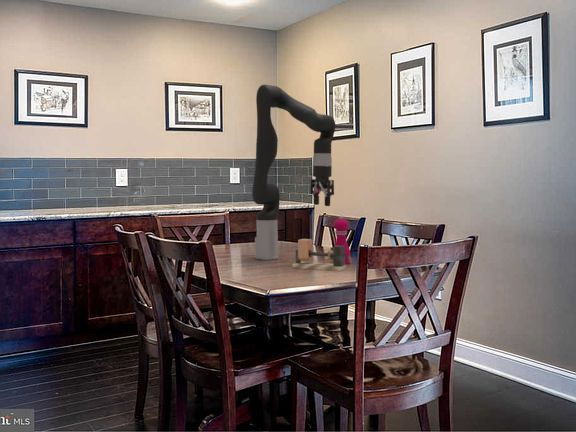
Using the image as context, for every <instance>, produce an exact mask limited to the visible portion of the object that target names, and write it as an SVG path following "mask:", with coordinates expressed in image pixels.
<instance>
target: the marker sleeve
mask: <svg viewBox="0 0 576 432" xmlns="http://www.w3.org/2000/svg"><path fill="white" fill-rule="evenodd" d="M297 249H298V260H301V261H309V260H312V259H313V256H310V255H309V252H313V239H312V238H300V239H298V240H297Z"/></svg>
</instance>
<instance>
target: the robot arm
mask: <svg viewBox="0 0 576 432" xmlns="http://www.w3.org/2000/svg"><path fill="white" fill-rule="evenodd" d="M255 96H256V102H255V103H256V120H257V121H256V142H255V145H256V146H255V166H254V167H255V168H254V176H253V177H254V178H253V183H252V191H251V193H252V194H251V197H252V199H253V202H254V203H255V204H256V205H260V206H261V205H262V206H263V207H262V209H261V210H260V211H259V212H258V213H257V214H256V216H255V217H256V236H255V237H254V252H255V253H254V255H255V256H254V258H255V259H256V260H266V261H270V260H276V259H279V251H278V249H279V247H278V246H279V245H278V243H279V242H278V241H279V240H278V238H279V237H278V236H279V234H278V232H279V230H278V229H279V228H278V215H279V213H280V199H281V198H280V190H279V188H278V187H279V186H277V184H275V183H272V182H271V183H268V178H269V171H270V169H271V168H272V165H273V163H274V161H275V159H276V157H277V154H278V145H279V143H278V142H279V141H278V135H277V131H276V130H275V127H274V125H273V121H272V118H271V116H272V115H271V112H272V111H271V109H273V108H275V109H277V108H278V109H281V110H283V111H286V112H288V113H289V114H290V116H291V117H293V119H295V120H296V121H298V122H300V123H302V124H304V125H305V126H306V127H307V128H309V129H310V130H312V131H314V132H316V133H320V135H319V137H318V138H316V139H315V140H314V141H313V157H312V177H314V178H311V180H310V191H309V192H310V194H312V195H313V205H315V206H318V205H319V204H320V193H321V192H322V193H323V194H324V207H330V206H331V197H332V196H334V195H335V180H334V179H330V177H332V173H333V172H332V171H333V170H332V168H333V166H332V165H333V159H332V143H333V142H332V141H333V139H334V134H335V131H336V121H335V118H334V117H333V116H332V115H329V114H321V113H318V112H317V111H316V109H314V108H313V107H311V106H310V105H307V104H305V103H303V102H301V101H299V100H297V99H296V98H294V97H292V96H291V95H289V94H288V93H287V92H286V91H285V90H283V89H282V88H281V87H280V86H278V85H277V86H276V85H270V84H261V85H260V86H259V87H258V89H257V91H256V95H255Z"/></svg>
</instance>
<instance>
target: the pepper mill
mask: <svg viewBox="0 0 576 432" xmlns="http://www.w3.org/2000/svg"><path fill="white" fill-rule="evenodd" d="M333 228H334V230H335V231H334V233H335V234H334V235H336V241H335V244H334V246H345V265H348V264H350V258H349V257H350V255H351V250H350V247H349V245H348V243H347V234H348V228H349V221H348V220H346V219H345V218H344V215H342V214H340V215H339V216H338V219H336V220H335V221H334V224H333Z"/></svg>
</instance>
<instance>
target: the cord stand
mask: <svg viewBox="0 0 576 432" xmlns="http://www.w3.org/2000/svg"><path fill="white" fill-rule="evenodd" d="M332 247H333V249H329V250H328V252H317V251H312V252H309V255H310V256H314V257H327V258H328V260H333V261H332V262H333V263H325V262H312V261H311V262H310V261H302V260H298V248H296V249H295V263H292V267H291V268H292V269H302V270H303V269H305V270H319V271H332V272H340V271H343V270H346V269H347V264H345V246H335V245H334V246H332Z"/></svg>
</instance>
